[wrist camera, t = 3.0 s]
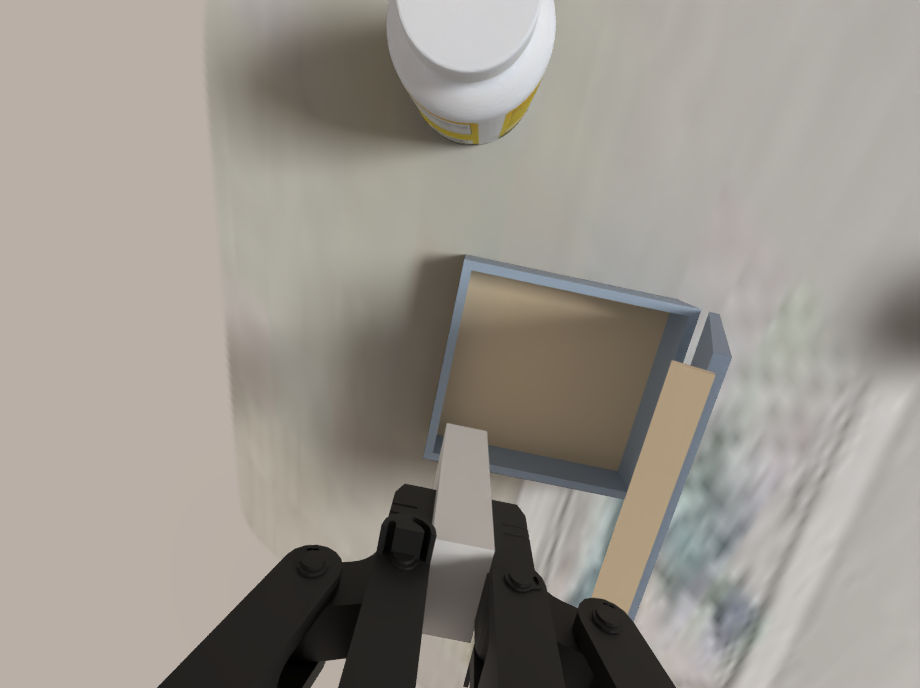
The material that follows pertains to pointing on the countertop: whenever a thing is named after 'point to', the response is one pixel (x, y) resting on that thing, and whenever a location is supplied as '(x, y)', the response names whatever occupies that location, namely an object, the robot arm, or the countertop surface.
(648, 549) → the lid
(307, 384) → the countertop surface
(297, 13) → the countertop surface
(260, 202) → the countertop surface
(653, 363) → the box
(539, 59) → the pill bottle
